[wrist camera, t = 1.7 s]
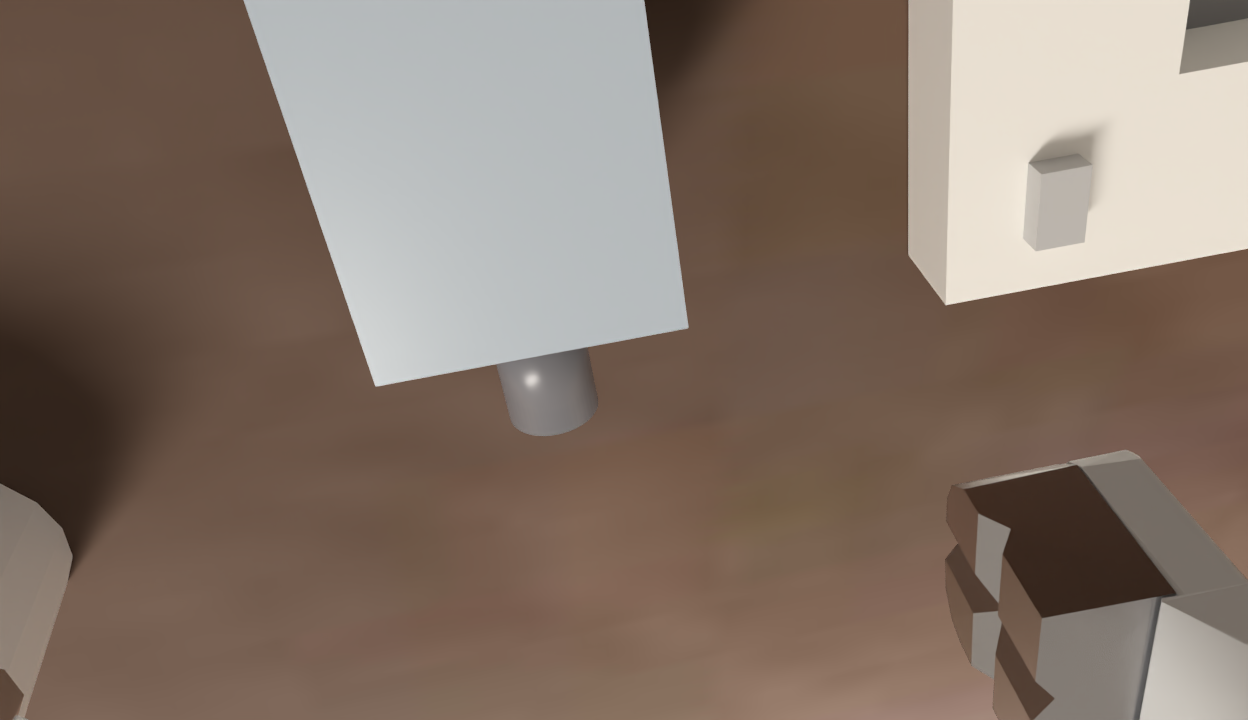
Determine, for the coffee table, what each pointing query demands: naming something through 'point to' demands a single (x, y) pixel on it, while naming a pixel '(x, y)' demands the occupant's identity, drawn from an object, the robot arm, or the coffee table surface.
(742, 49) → the coffee table surface
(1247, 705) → the robot arm
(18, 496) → the shot glass
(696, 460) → the coffee table surface
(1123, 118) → the socket plate
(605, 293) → the plug
